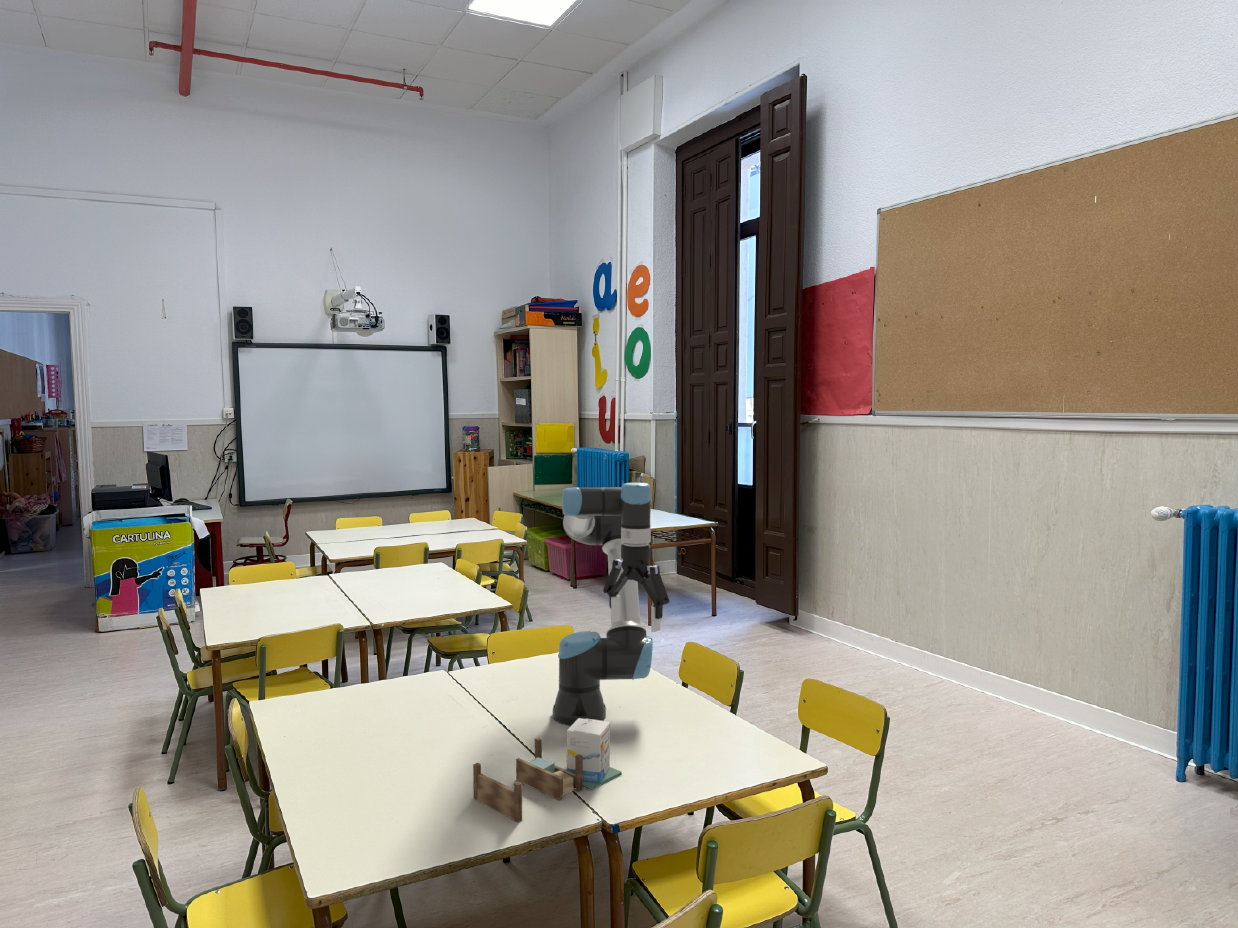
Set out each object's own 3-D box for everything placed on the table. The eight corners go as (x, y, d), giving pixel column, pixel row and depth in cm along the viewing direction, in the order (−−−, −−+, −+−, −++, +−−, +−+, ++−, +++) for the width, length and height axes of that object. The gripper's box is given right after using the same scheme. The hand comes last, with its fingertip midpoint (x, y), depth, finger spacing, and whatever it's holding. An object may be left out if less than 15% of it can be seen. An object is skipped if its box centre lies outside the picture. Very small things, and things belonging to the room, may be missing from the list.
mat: (556, 775, 191) (556, 772, 191) (588, 760, 200) (588, 757, 200) (589, 790, 184) (589, 787, 184) (621, 773, 192) (621, 771, 192)
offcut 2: (544, 789, 185) (544, 775, 185) (560, 783, 188) (560, 770, 188) (557, 797, 181) (557, 783, 181) (573, 791, 184) (573, 777, 184)
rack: (473, 798, 180) (473, 764, 179) (538, 769, 195) (538, 737, 194) (517, 821, 170) (517, 785, 169) (582, 789, 185) (582, 755, 184)
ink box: (600, 783, 186) (600, 734, 185) (565, 778, 188) (565, 730, 188) (610, 767, 194) (610, 720, 194) (577, 763, 197) (577, 716, 196)
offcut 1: (526, 773, 188) (526, 763, 188) (537, 766, 191) (537, 756, 191) (543, 779, 185) (543, 769, 185) (554, 772, 189) (554, 762, 188)
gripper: (590, 539, 210) (589, 619, 211) (664, 551, 193) (664, 638, 195) (609, 536, 215) (609, 614, 217) (683, 547, 199) (682, 632, 200)
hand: (635, 625), depth 206 cm, fingers open, 13 cm apart
